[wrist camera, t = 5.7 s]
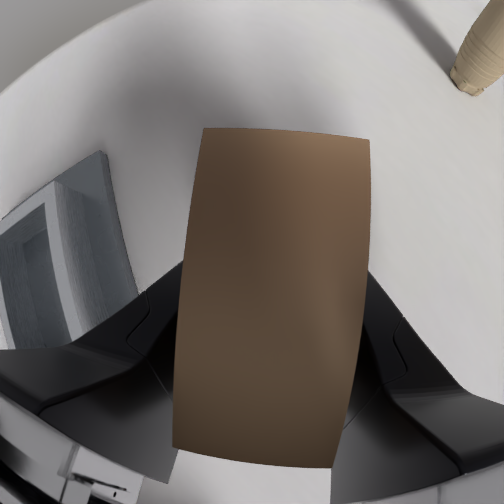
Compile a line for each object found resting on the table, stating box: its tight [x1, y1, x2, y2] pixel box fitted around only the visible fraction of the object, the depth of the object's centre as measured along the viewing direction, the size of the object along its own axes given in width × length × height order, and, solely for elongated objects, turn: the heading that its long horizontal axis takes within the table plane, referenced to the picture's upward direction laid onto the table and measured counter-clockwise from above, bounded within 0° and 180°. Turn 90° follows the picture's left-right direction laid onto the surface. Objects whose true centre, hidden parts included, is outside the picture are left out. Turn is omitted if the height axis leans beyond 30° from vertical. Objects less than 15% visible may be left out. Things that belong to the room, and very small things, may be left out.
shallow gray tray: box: [0, 150, 138, 349], centre depth 16 cm, size 16×12×4 cm
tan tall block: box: [172, 128, 371, 468], centre depth 10 cm, size 6×3×11 cm, turn 174°
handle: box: [450, 0, 504, 96], centre depth 9 cm, size 5×6×15 cm
